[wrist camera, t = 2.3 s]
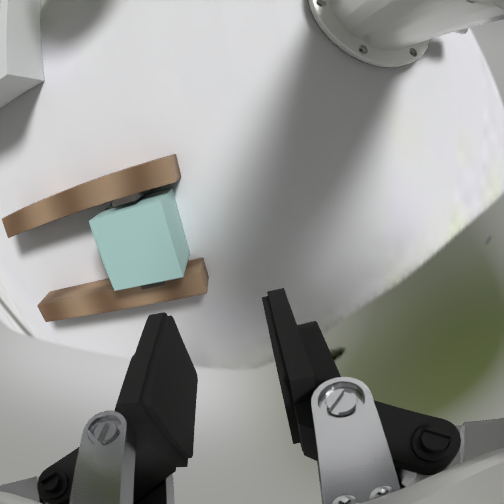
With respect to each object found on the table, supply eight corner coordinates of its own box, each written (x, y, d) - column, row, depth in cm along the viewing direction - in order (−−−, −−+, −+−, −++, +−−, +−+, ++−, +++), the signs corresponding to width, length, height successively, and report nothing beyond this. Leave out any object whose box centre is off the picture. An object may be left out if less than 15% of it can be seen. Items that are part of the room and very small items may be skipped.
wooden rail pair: (175, 154, 23) (166, 157, 20) (208, 277, 28) (206, 299, 24) (18, 210, 24) (-5, 222, 20) (57, 307, 28) (41, 327, 24)
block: (172, 187, 25) (160, 200, 20) (190, 252, 27) (183, 277, 22) (111, 205, 25) (88, 221, 20) (130, 265, 27) (114, 290, 22)
